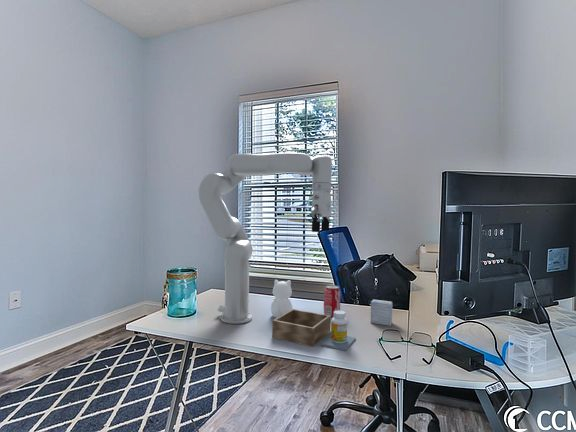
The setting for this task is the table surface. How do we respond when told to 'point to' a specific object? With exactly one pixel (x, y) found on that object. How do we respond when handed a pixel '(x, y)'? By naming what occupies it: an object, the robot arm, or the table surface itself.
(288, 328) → the crate
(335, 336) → the supplement bottle
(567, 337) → the table surface
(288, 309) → the cat figurine
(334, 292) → the soda can
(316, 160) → the robot arm
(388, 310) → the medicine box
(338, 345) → the mat
